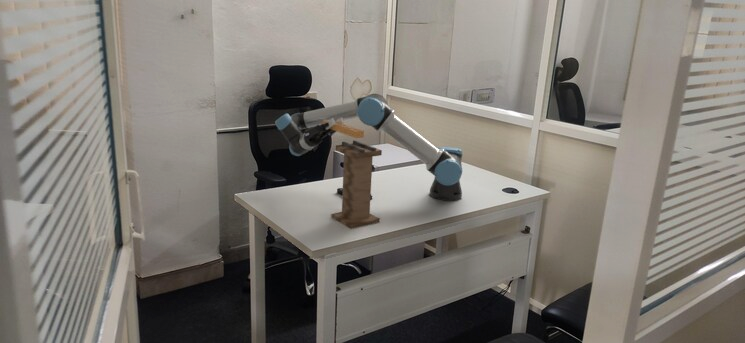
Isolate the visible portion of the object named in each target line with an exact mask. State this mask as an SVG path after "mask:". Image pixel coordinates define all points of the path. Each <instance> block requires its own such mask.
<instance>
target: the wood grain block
mask: <svg viewBox="0 0 745 343" xmlns="http://www.w3.org/2000/svg"><path fill="white" fill-rule="evenodd" d="M327 121H329V120H323V124H324V123H326V122H327ZM329 129H332V130H334V131H337V132H338V133H340V134H343V135H346V136H349V137H351V138H354V139H361V138H364V136H365V131H364V130H362V129H359V128H356V127H353V126H350V125H347V124H345V123H344V124H341V123H338V122H335V125H334V126H332V127H331V128H329ZM337 132H336V133H337Z"/></svg>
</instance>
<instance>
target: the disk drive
mask: <svg viewBox="0 0 745 343" xmlns="http://www.w3.org/2000/svg"><path fill="white" fill-rule="evenodd" d="M336 194H338V195H340V196H342V195H343V187H340V188H339V187H337V189H336ZM371 200H373V195H372V194H371V195H370V201H371Z"/></svg>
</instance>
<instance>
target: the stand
mask: <svg viewBox="0 0 745 343" xmlns="http://www.w3.org/2000/svg"><path fill="white" fill-rule="evenodd" d="M335 151H336V152H338V153H341V154H343V169H342V171H343V172H342V173H343V174H342V178H343V179H342V188H343V195H342V199H341V200H342V201H341V211H339V212H334V213H331V218H332V219H333V220H336V221H337V222H339V223H340V224H342V225H344V226H346V227H347V228H349V229H351V230H352V229H356V228H360V227H365V226H368V225H373V224H377V223H380V221H381V220H380V219H381V218H379V217H378V216H376V215H373V213H371V212H370V211H371V200H370V195H372V193H371V192H372V176H373V175H372V174H373V157H379V156H382V152H383V151H382V149H380V148H376V147H375V146H372V145H369V144H367V143H363V142H360V141H359V140H358V141H357V140H356V139H355V140H354V139H353V140H352V143H349V142H346V141H342V142H341V144H339V145H338V144H337V145H335Z"/></svg>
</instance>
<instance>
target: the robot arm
mask: <svg viewBox="0 0 745 343" xmlns="http://www.w3.org/2000/svg"><path fill="white" fill-rule="evenodd" d="M357 118H358V119H359V120H360V122H361V123H363V124H364V125H366V126H369V127H370V126H371V128H373V129H375V130H376V131H377V132H384V133H385V134H386V135H388V136H389V137H390V138H391V139H393V140H394V141H395V142H396V143H397V144H399V145H401V146H402V147H403V148H404V149H405V150H407V151H408V152H410V154H412V155H413V156H414V157H416V158H417V159H418V160H419V161H421V162H422V163H423V164H424V165H425V169H426V171H427V172H429V173H431V174H432V175H433V176H434V179H433V181H432V184H431V186H430V188H429V196H431V197H432V198H435V199H437V200H441V201H457V200H460V199H462V198H463V197H462V196H463V191H462V186H461V185H462V184H461V182H460V180H461V178H462V175H463V167H462V165H463V164H462V160H463V150H462V149H461V148H458V147H450V146H449V147H448V146H440V147H438V148H437V147H436V146H435V145H433V144H432V143H431V142H430V141H428V140H427V139H426V138H424V136H422V135H421V134H420V133H419V132H417V131H416V130H414V129H413V128H412V127H410V125H408V124H407V123H406V122H404V121H403V120H401V119H400V118H399V117H398V116H397V115H396V114H395V110H394V109H393V108H392V107H391V106H390V105H388V101H387V100H386V98H385V97H384V96H383V95H381V94H379V93H371V94H368V95H365V96H362V97H359V98H356V100H355V101H350V102H346V103H341V104H336V105H332V106H327V107H322V108H317V109H314V110H309V111H305V112H297V113H294V114H292V115H290V114H289V113H287V112H286V113H285V114H283V115H282V116H280V117H279V118H278V119H276V120H275V122H274V124H275V125H276V128H277V129H278V130H279V131H280V133H281V134H282V135H283V137H284V138H285V140H286V141H287V142H288V144H289V146H288V147H289V152H290V153H291V155H293V156H295V157H300V156H302V155H305V154H306V153H308V152H309V151H312V149H314V148H315V147H317V146H318V145H320V144H322V142H323V139H324V138H325V137H327V136H333V135H334V134H335V133H337V131H334V130H332V129H329V128H331V127H332V126H334V125H335V122H338V123H341V124H344V125H345V123H344V121H347V120H353V119H357ZM323 120H329V121H327V122H326V123H324V124H323ZM305 129H308V130H307V131H305V132H304V133H303V132H302V130H305Z"/></svg>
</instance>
